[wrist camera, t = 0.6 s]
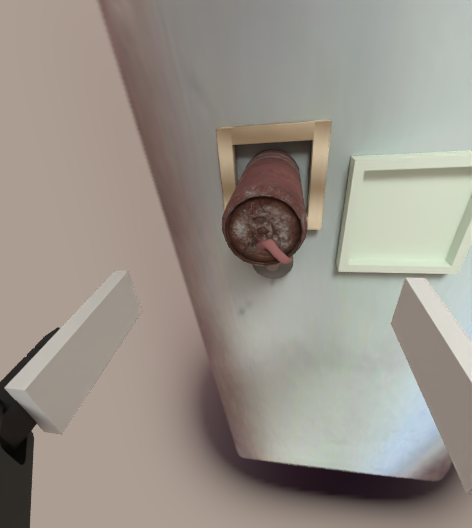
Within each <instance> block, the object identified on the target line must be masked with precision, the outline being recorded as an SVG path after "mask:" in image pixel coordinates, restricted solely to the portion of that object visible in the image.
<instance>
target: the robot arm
mask: <svg viewBox="0 0 472 528" xmlns="http://www.w3.org/2000/svg"><path fill="white" fill-rule="evenodd" d="M141 312H142V309H141V306H140V303H139V300H138V298H137V295H136V292H135V289H134V286H133V283H132V281H131V278H130V275H129V272H128V271H114V272H113V273H112V274H111V275H110V276H109V277H108V279H107V280H106V281H105V282H104V283H103V284H102V285H101V286H100V287H99V288H98V289H97V290H96V291H95V292H94V293H93V294H92V295H91V296H90V298H89V299H88V300H87V301H86V302H85V303H84V304H83V305H82V306H81V307H80V308H79V309H78V310H77V311H76V312H75V313H74V314H73V316H72V317H71V318H70V319H69V320H68V321H67V322H66V323H65V324H64V325H63V326H62V327H61V328H56V329H55V330H54V331H52V332H50V333H49V334H48V335H46V336H45V337H44V338H43V339H42V340H41V341H40V342H39V343H38V344H37V345H36V346H35V348H34V349H32V350H31V351H30V352H29V353H28V354H27V357H24V358H23V359H22V360H21V361H20V362H19V363H18V364H17V366H15V367H14V369H12V370H11V372H10V373H9V374H8V375H7V376H6V377H5V378H4V379H3V380H2V381H1V382H0V528H30V510H31V509H30V508H31V488H32V467H33V447H34V436H33V433H32V432H31V430H32V429H33V427H34V426H35V425H36V424H38V425H39V427H40V428H41V429H42V430H43V431H44V432H50V433H56V434H63V432H64V431H65V429H66V428H67V426H68V425H69V423H70V421H71V420H72V418H73V417H74V415H75V414H76V412H77V411H78V409H79V408H80V406H81V405H82V403H83V401H84V400H85V398H86V397H87V395H88V394H89V392H90V391H91V389H92V388H93V386H94V384H95V383H96V382H97V380H98V378H99V377H100V375H101V374H102V372H103V371H104V369H105V367H106V366H107V365H108V363H109V362H110V360H111V358H112V357H113V355H114V354H115V352H116V351H117V349H118V348H119V346H120V344H121V343H122V341H123V340H124V338H125V337H126V335H127V334H128V332H129V331H130V329H131V327H132V326H133V324H134V323H135V321H136V320H137V318H138V317H139V315H140V314H141ZM391 325H392V327H393V329H394V332H395V334H396V336H397V338H398V341H399V343H400V345H401V347H402V350H403V352H404V354H405V356H406V359H407V361H408V363H409V365H410V368H411V370H412V372H413V374H414V377H415V379H416V381H417V383H418V386H419V388H420V390H421V392H422V395H423V397H424V399H425V401H426V404H427V406H428V408H429V410H430V413H431V415H432V417H433V419H434V422H435V424H436V426H437V428H438V430H439V433H440V435H441V437H442V439H443V442H444V444H445V446H446V448H447V451H448V453H449V455H450V457H451V460H452V462H453V464H454V466H455V469H456V471H457V473H458V475H459V478H460V480H461V482H462V484H463V487H464V489H465V491H466V493H467V494H472V341H471V340H470V339H469V337H468V336H467V335H466V333H465V332H464V330H463V329H462V328H461V326H460V325H459V324H458V322H457V321H456V320H455V318H454V317H453V315H452V314H451V313H450V311H449V310H448V309H447V307H446V306H445V305H444V303H443V302H442V300H441V299H440V298H439V296H438V295H437V294H436V292H435V291H434V290H433V288H432V287H431V285H430V284H429V283H428V281H427V280H426V279H425V278H405V281H404V284H403V287H402V290H401V293H400V297H399V300H398V303H397V306H396V309H395V312H394V315H393V319H392V322H391Z"/></svg>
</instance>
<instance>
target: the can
mask: <svg viewBox="0 0 472 528" xmlns="http://www.w3.org/2000/svg"><path fill="white" fill-rule="evenodd" d="M307 227H308V224H307V218H306V211H305V205H304V198H303V192H302V186H301V179H300V173H299V168H298V166H297V164H296V162H295V160H294V159H293V158H292V157H291V156H289V155H288V154H287V153H284V152H282V151H280V150H267V151H264V152H260V153H259V154H258V155H256V156H255V157H253V158H252V160H251V161H250V162H249V163H248V165H247V167H246V169H245V171H244V173H243V175H242V177H241V178H240V180H239V182H238V184H237V186H236V188H235V190H234V192H233V194H232V196H231V198H230V200H229V202H228V204H227V206H226V209H225V212H224V214H223V217H222V231H223V234H224V237H225V240H226V242H227V244H228V246H229V248H230V249H231V250H232V252H233V253H234V254H235V255H236V256H237V257H239V258H240V259H241V260H243V261H245V262H247V263H250V264H252V265H257V266H271V265H277V264H279V263H282V264H288V263H290V262H291V261H292V255H293V254H294V253H296V251H297V250H298V249H299V248H300V246H301V245H302V243H303V241H304V240H305V238H306V232H307Z"/></svg>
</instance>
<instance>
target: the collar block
mask: <svg viewBox="0 0 472 528" xmlns="http://www.w3.org/2000/svg"><path fill="white" fill-rule="evenodd" d="M331 123H332V121H331V120H317V121H303V122H289V123H276V124H262V125H248V126H235V127H221V128H218V129H216V135H217V144H218V153H219V163H220V172H221V181H222V190H223V199H224V209H226V206H227V204H228V202H229V200H230V198H231V196H232V194H233V192H234V190H235V188H236V186H237V184H238V181H237V168H236V155H235V145H239V144H255V143H272V142H288V141H304V140H312V149H311V164H310V179H309V194H308V209H307V212H306V218H307V224H308V227H307V230H321V224H322V213H323V203H324V193H325V183H326V173H327V163H328V153H329V143H330V133H331ZM292 266H293V255H292V261H291V262H290V263H288V264H282V263H279V264H277V265H271V266H257V265H253V267H254V269H255V270H256V271H257V272H258V273H259V274H260V275H262V276H264V277H267V278H280V277H283V276H285V275H286V274H287V273H288V272H289V271H290V270H291V268H292Z"/></svg>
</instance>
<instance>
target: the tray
mask: <svg viewBox="0 0 472 528" xmlns="http://www.w3.org/2000/svg"><path fill="white" fill-rule="evenodd" d="M471 244H472V150H465V151H445V152H425V153H405V154H385V155H365V156H351V161H350V168H349V175H348V182H347V189H346V196H345V203H344V210H343V217H342V224H341V231H340V238H339V245H338V252H337V259H336V265H337V268H338V272H379V273H427V274H458V273H459V271H460V269H461V267H462V264H463V262H464V260H465V258H466V255H467V253H468V251H469V249H470V246H471Z"/></svg>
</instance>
